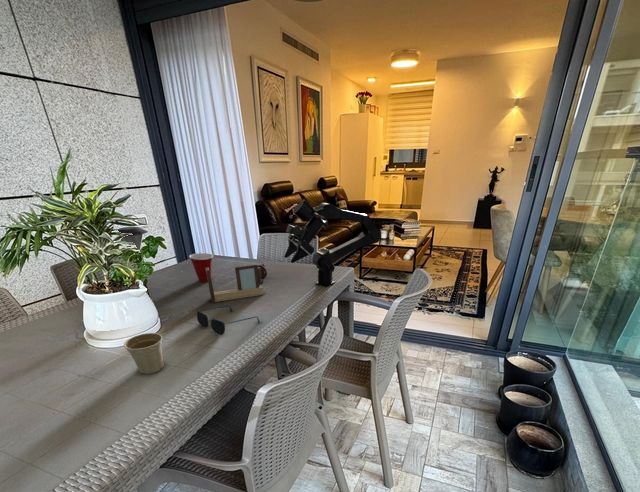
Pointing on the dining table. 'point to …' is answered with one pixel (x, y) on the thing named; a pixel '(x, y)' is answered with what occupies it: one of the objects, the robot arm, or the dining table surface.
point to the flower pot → (146, 352)
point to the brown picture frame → (248, 277)
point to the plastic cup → (202, 265)
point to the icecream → (263, 270)
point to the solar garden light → (133, 237)
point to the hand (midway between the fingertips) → (288, 259)
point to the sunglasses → (215, 321)
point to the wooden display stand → (231, 291)
